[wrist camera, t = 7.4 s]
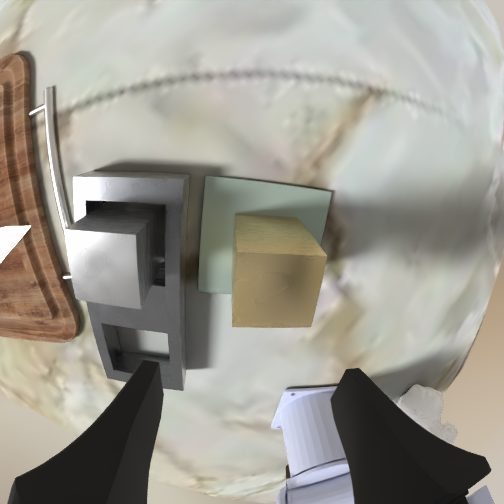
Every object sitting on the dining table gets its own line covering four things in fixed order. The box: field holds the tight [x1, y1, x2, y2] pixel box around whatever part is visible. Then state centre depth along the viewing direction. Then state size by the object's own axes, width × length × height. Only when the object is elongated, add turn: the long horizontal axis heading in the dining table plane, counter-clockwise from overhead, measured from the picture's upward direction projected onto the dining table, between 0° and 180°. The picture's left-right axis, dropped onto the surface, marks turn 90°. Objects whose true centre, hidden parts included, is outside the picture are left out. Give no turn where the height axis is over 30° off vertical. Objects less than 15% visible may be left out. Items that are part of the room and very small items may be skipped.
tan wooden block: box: [231, 214, 327, 328], centre depth 15 cm, size 4×4×6 cm
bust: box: [396, 384, 457, 444], centre depth 25 cm, size 12×8×11 cm
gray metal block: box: [64, 201, 165, 309], centre depth 15 cm, size 4×4×6 cm
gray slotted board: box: [73, 171, 190, 391], centre depth 18 cm, size 7×17×2 cm, turn 173°
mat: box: [198, 176, 332, 294], centre depth 18 cm, size 8×8×1 cm
